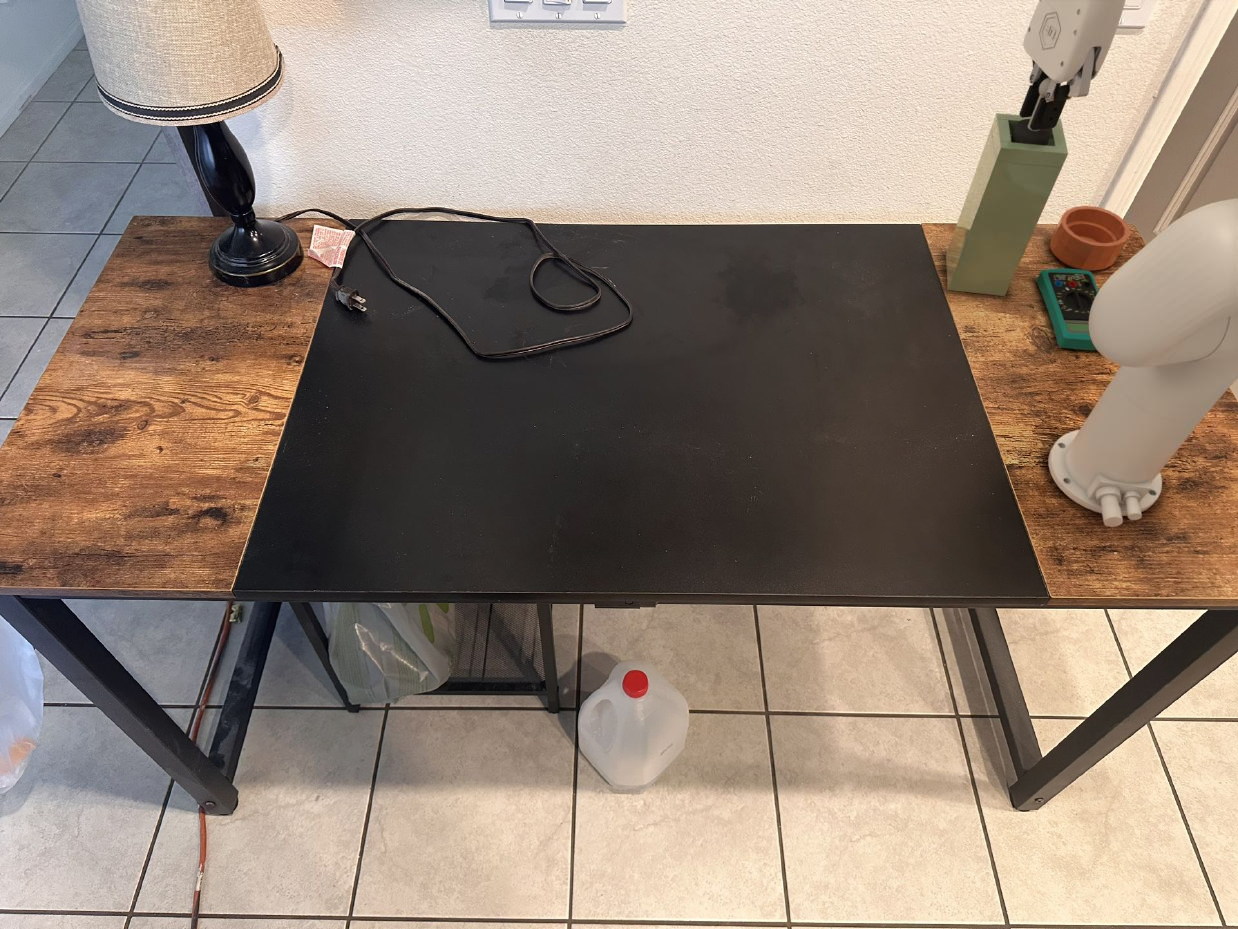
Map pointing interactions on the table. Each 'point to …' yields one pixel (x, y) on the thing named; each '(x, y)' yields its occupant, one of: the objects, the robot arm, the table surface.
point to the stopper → (1022, 127)
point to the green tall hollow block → (1002, 208)
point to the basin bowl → (1089, 238)
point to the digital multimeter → (1069, 305)
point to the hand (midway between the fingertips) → (1037, 120)
